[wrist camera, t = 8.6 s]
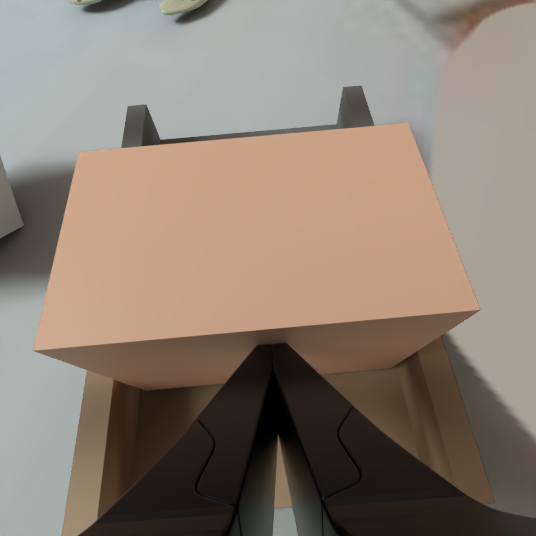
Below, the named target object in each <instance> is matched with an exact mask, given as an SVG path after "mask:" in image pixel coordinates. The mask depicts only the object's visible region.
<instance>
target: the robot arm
mask: <svg viewBox="0 0 536 536" xmlns="http://www.w3.org/2000/svg"><path fill="white" fill-rule="evenodd" d="M278 436H279V442H280V447H281V452H282V457H283V462H284V467H285V472H286V477H287V482H288V487H289V492H290V497H291V502H292V507H293V512H294V517H295V522H296V527H297V532H298V536H536V519H535V518H530V517H524V516H519V515H514V514H509V513H505V512H501V511H498V510H495V509H493V508H490V507H488V506H486V505H484V504H481V503H480V502H478V501H476V500H474V499H473V498H471V497H469V496H468V495H466V494H465V493H464V492H462V491H461V490H459V489H458V488H456V487H455V486H454V485H452V484H451V483H450V482H448V481H447V480H446V479H444V478H443V477H442V476H440V475H439V474H438V473H436V472H435V471H434V470H432V469H431V468H430V467H428V466H427V465H426V464H424V463H423V462H422V461H420V460H419V459H418V458H416V457H415V456H414V455H412V454H411V453H409V452H408V451H407V450H405V449H404V448H403V447H401V446H400V445H399V444H398V443H396V442H395V441H394V440H393V439H391V438H390V437H389V436H387V435H386V434H385V433H384V432H382V431H381V430H380V429H379V428H378V427H377V426H375V425H374V424H373V423H372V422H371V421H370V420H369V419H368V418H366V417H365V416H364V415H363V414H362V413H361V412H360V411H359V410H358V409H357V408H354V406H353V405H352V404H351V403H350V402H349V401H348V400H347V399H346V398H345V397H344V396H343V395H342V394H341V393H339V392H338V391H337V390H336V389H335V388H334V387H333V386H332V385H331V384H330V383H329V382H328V381H327V380H326V379H325V378H324V377H322V376H321V375H320V374H319V373H318V372H317V371H316V370H315V369H314V368H313V367H312V366H311V365H310V364H309V363H308V362H306V361H305V360H304V359H303V358H302V357H301V356H300V355H299V354H298V353H297V352H296V351H295V350H294V349H293V348H292V347H290V346H289V345H288V344H287V343H276V344H272V345H271V344H263V345H257V346H255V348H254V349H253V350H252V351H251V352H250V354H249V355H248V356H247V357H246V358H245V360H244V361H243V362H242V363H241V364H240V366H239V367H238V368H237V369H236V371H235V372H234V373H233V374H232V375H231V377H230V378H229V379H228V380H227V381H226V383H225V384H224V385H223V386H222V387H221V389H220V390H219V391H218V392H217V393H216V395H215V396H214V397H213V398H212V399H211V401H210V402H209V403H208V404H207V406H206V407H205V408H204V409H203V410H202V412H201V413H200V414H199V415H198V416H197V418H196V420H194V421H193V422H192V423H191V425H190V426H189V427H188V428H187V429H186V431H185V432H184V433H183V434H182V435H181V436H180V437H179V439H178V440H177V441H176V442H175V443H174V444H173V445H172V447H171V448H170V449H169V450H168V451H167V452H166V453H165V454H164V455H163V456H162V457H161V458H160V459H159V460H158V461H157V462H156V463H155V464H154V465H153V466H152V467H151V468H150V469H149V470H148V471H147V472H146V473H145V474H144V475H143V476H142V477H141V478H140V479H139V480H138V481H137V482H136V483H135V484H134V485H133V486H132V487H131V488H129V489H128V490H127V491H126V492H125V493H124V494H123V495H122V496H121V497H120V498H119V499H118V500H117V501H116V502H115V503H114V504H113V505H112V506H111V507H110V508H109V509H108V510H107V511H106V512H105V513H104V514H103V515H102V516H101V517H100V518H98V519H97V520H96V521H95V522H94V523H93V524H92V525H91V526H89V527H88V528H87V529H86V530H84V531H83V532H82V533H80V534H79V535H77V536H273V519H274V501H275V484H276V467H277V449H278Z"/></svg>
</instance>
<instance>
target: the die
mask: <svg viewBox="0 0 536 536" xmlns="http://www.w3.org/2000/svg"><path fill="white" fill-rule="evenodd" d="M22 226H24V224H23V221H22V218H21V215H20V213H19V210H18V207H17V204H16V201H15V198H14V195H13V192H12V189H11V186H10V183H9V180H8V177H7V174H6V171H5V168H4V165H3V162H2V160H1V157H0V238H2V237H4V236H5V235H7V234H9V233H11V232H13V231H15V230H17V229H19V228H20V227H22Z"/></svg>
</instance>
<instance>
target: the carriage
mask: <svg viewBox="0 0 536 536" xmlns="http://www.w3.org/2000/svg"><path fill="white" fill-rule="evenodd" d="M478 311H480V307H479V304H478V301H477V299H476V296H475V294H474V291H473V289H472V286H471V283H470V281H469V278H468V276H467V273H466V271H465V268H464V265H463V263H462V260H461V258H460V255H459V253H458V250H457V248H456V245H455V242H454V240H453V237H452V235H451V232H450V230H449V227H448V224H447V222H446V219H445V216H444V214H443V211H442V209H441V206H440V204H439V201H438V198H437V196H436V193H435V191H434V188H433V185H432V183H431V180H430V178H429V175H428V172H427V170H426V167H425V165H424V162H423V160H422V157H421V154H420V152H419V149H418V147H417V144H416V142H415V139H414V136H413V134H412V131H411V129H410V126H409V123H402V124H390V125H379V126H368V127H356V128H345V129H334V130H322V131H311V132H300V133H288V134H277V135H266V136H254V137H243V138H231V139H220V140H209V141H197V142H186V143H175V144H163V145H152V146H141V147H129V148H118V149H107V150H95V151H84V152H79V153H78V157H77V162H76V166H75V170H74V174H73V179H72V183H71V187H70V192H69V196H68V200H67V205H66V209H65V213H64V218H63V222H62V226H61V231H60V235H59V239H58V244H57V248H56V252H55V257H54V261H53V265H52V270H51V274H50V278H49V283H48V287H47V291H46V296H45V300H44V304H43V309H42V313H41V317H40V322H39V326H38V330H37V335H36V339H35V343H34V348H33V351H35V352H38V353H41V354H44V355H46V356H49V357H52V358H55V359H58V360H60V361H63V362H66V363H69V364H72V365H75V366H77V367H80V368H83V369H86V370H89V371H91V372H94V373H97V374H100V375H103V376H106V377H108V378H111V379H114V380H117V381H120V382H122V383H125V384H128V385H131V386H134V387H137V388H139V389H142V390H145V391H149V390H160V389H171V388H181V387H192V386H203V385H214V384H225V383H226V381H227V380H228V379H229V378H230V377H231V375H232V374H233V373H234V372H235V371H236V369H237V368H238V367H239V366H240V364H241V363H242V362H243V361H244V360H245V358H246V357H247V356H248V355H249V354H250V352H251V351H252V350H253V349H254V348H255V346H257V345H263V344H271V345H272V344H276V343H287V344H288V345H289V346H290V347H292V348H293V349H294V350H295V351H296V352H297V353H298V354H299V355H300V356H301V357H302V358H303V359H304V360H305V361H306V362H308V363H309V364H310V365H311V366H312V367H313V368H314V369H315V370H316V371H317V372H318V373H319V374H320V375H323V374H334V373H344V372H355V371H366V370H377V369H388V368H392V367H393V366H395V365H396V364H398V363H400V362H401V361H403V360H404V359H406V358H407V357H409V356H410V355H412V354H413V353H415V352H416V351H418V350H420V349H421V348H423V347H424V346H426V345H427V344H429V343H430V342H432V341H433V340H435V339H437V338H438V337H440V336H441V335H443V334H444V333H446V332H447V331H449V330H450V329H452V328H454V327H455V326H457V325H458V324H460V323H461V322H463V321H464V320H466V319H467V318H469V317H470V316H472V315H474V314H475V313H477V312H478Z"/></svg>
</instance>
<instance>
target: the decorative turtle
mask: <svg viewBox="0 0 536 536" xmlns="http://www.w3.org/2000/svg"><path fill="white" fill-rule="evenodd" d="M68 1H69V2H70V3H72V4H75V5H87V4H93V3H97V2H100V1H102V0H68ZM206 1H207V0H164V1H163V2H162V3H161V4H160V6H159V9H160V11H161V12H162V13H163V14H165V15H175V14H179V13H184V12H188V11H191V10H194V9H196V8H198V7H200V6H201V5H202V4H204V3H205V2H206Z"/></svg>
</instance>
